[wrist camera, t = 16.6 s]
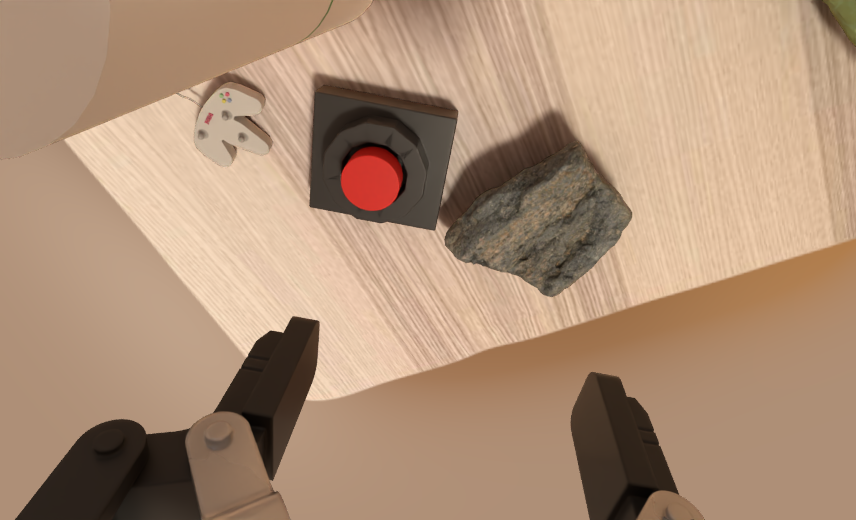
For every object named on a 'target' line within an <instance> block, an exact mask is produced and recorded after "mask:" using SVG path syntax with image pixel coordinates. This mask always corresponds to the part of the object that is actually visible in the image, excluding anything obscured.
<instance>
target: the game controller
mask: <svg viewBox="0 0 856 520" xmlns="http://www.w3.org/2000/svg"><path fill="white" fill-rule="evenodd" d="M176 94H178V95H179V96H181V97H183V98H187V99H189V100H191V101H192V102H194V103H196V104H197V105H198V106H200V107H201V108H202V110H201V112H200V114H199V116H198V119H197V121H196V125H195V130H194V143H195V146H196V148H197V149H198V150H199V151H200V152H201V153H202V154H203V155H204V156H206V157H207V158H209V159H210V160H212V161H213V162H215V163H216V164H218V165H219V166H221V167H229V166H231V164H232V163H233V161H234V159H235V157H236V155H237V153H236V150H235V148H234V147H233V146H236V147H239V148H242V149H244V150H247V151H250V152H252V153H255V154H258V155H266V154H268V153H269V151H270V148H271V146H272V140H271V138H270V137H269V136H268V135H267V134H266V133H265V132H263V131H262V130H261V129H260V128H258V127H257V126H256V125H255V124H253V123H252V122H251V121H250V120H248V119H247V118H246V117H244V116H254V115H258V114H260V113H261V111H262V109H263V107H264V106H265V98H264V96H263V95H262V94H260V93H259V92H256V91H254V90H252V89H250V88H248V87H245V86H243V85H241V84H237V83H233V82H228V83H225V84H223V85H222V86H221V87H219V88H218V89H217V90H216V91H215V92H214V93H213V94H212V96H211V97H210V98H209V99H208V100H207V102H206V103H205V104H204V106H203V107H202V106H201V105H200V104H198V103H197V102H195V101H194V100H192V99H190V98H188V97H185V96H183V95H181V94H179V93H176Z"/></svg>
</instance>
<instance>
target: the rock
mask: <svg viewBox="0 0 856 520" xmlns="http://www.w3.org/2000/svg"><path fill="white" fill-rule="evenodd" d="M631 218H632V212H631V210H630V208H629V207H628V206H627V204H626V203H625V202H624V200H623V198H622V196H621V194H620V193H619V192H618V191H617V190H616V189H615V188H614V187H613V186H612V185H610V184H609V183H608V182H607V181H606V180H605V179H604V178H603V177H602V176H601V175H600V174H598V173H597V172H596V171H595V169H594V166H593V164H592V163H591V162H590V161H589V159H588V157H587V155H586V152H585V150H584V149H583V147H582V145H581V144H580V142H577V141H575V142H572V143H570V144H568V145H566V146H565V148H563V149H562V150H560V151H559V152H557V153H555V154H553V155H551V156H550V157H548V158H546V159H545V160H543V161H542V162H541V163H539V164H537V165H535V166H534V167H531V168H526V169H524V170H523V171H521V172H520V173H519V174H518V175H516V176H515V177H513V178H512V179H510V180H509V181H507V182H505V183H504V184H503V185H502V186H500V187H497V188H492V189H490V190H488V191H486V192H484V193H483V194H481V195H480V196H479V197H477V198H476V200H475V201H474V202H473V204H472V205H471V206H470V208H469V209H468V210H467V211H466V212H465V213H463V214H462V216H461V217H459V218H458V219H457V221H456V222H455V223H454V224H453V225H452V226H451V227H450V229H449V230H448V231H447V233H446V236H445V246H446V247H447V248H448V249H449V250H450V251H451V252H452V253H453V254H454V256H455V257H456V258H457V259H459V260H461V261H463V262H465V263H469V262H472V263H473V264H476V263H477V264H481V265H482V266H486V267H488V268H490V269H494V270H497V271H500V272H508V273H511V274H514V275H517V276H519V277H521V278H522V279H523V280H524V281H526V282H528V283H529V284H531V285H533V286H534V287H536V288H538V290H539V291H540V292H541V293H542V294H543V295H546V296H550V297H553V296H556V295H558V294H560V293H561V292H562V291H563V290H564V289H566V288H568V287H569V286H571V285H572V284H573V283H574V282H575V281H576V280H577V279H579V278H580V277H581V276H583V275H584V274H585V273H586V272H588V271H589V270H590V269H591V268H592V267H593V266H594V265H595V264H596V263H597V261H598V260H599V259H600V258H601V257H602V256H603V255H604V254H605V253H606V252H607V251H608V250H609V249H610V248H611V247H613V246H614V245H615V244H616V243H617V241H618V240H619V239H620V236H621V233H622V231H623V230H624V229H625V228H626V227H627V225H628V224H629V222H630V221H631Z"/></svg>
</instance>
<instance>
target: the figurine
mask: <svg viewBox="0 0 856 520" xmlns="http://www.w3.org/2000/svg"><path fill="white" fill-rule="evenodd" d="M822 1H823V2H824V3H826V4H827V5H828V6H829V9H830V11H831V13H832V14H833V16H834V17H835V19H836V20H837V22H838V23H839V25H840V26H841V28H842V29H843V31H844V32H845V34H846V36H847V37H848V39H849V40H850V41H851V42H852V43H853V44H854V45H855V46H856V0H822Z"/></svg>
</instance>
